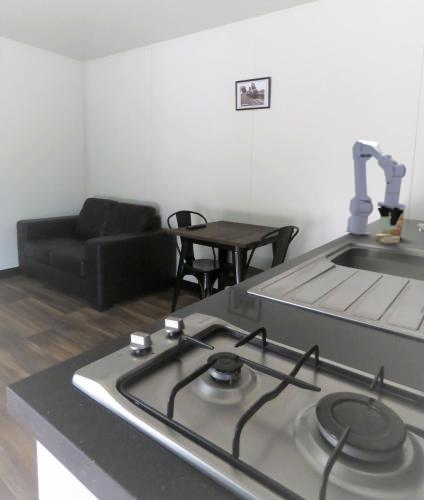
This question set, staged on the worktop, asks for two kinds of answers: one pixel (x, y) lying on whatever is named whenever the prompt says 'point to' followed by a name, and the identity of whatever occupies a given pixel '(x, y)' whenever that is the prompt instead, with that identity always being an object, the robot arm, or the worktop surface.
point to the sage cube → (386, 223)
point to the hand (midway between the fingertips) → (388, 224)
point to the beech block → (387, 238)
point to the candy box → (399, 226)
